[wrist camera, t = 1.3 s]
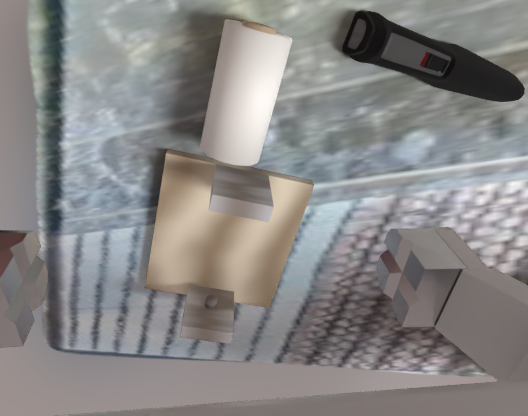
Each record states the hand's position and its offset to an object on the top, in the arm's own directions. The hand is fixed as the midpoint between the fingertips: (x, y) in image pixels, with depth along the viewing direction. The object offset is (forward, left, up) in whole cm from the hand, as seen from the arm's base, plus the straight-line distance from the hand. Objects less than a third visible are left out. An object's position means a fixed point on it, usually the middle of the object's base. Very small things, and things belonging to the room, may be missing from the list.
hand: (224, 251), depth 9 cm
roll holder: (-3, +17, -27) cm, 32 cm away
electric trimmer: (-16, -4, -28) cm, 32 cm away
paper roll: (-2, +2, -27) cm, 27 cm away
